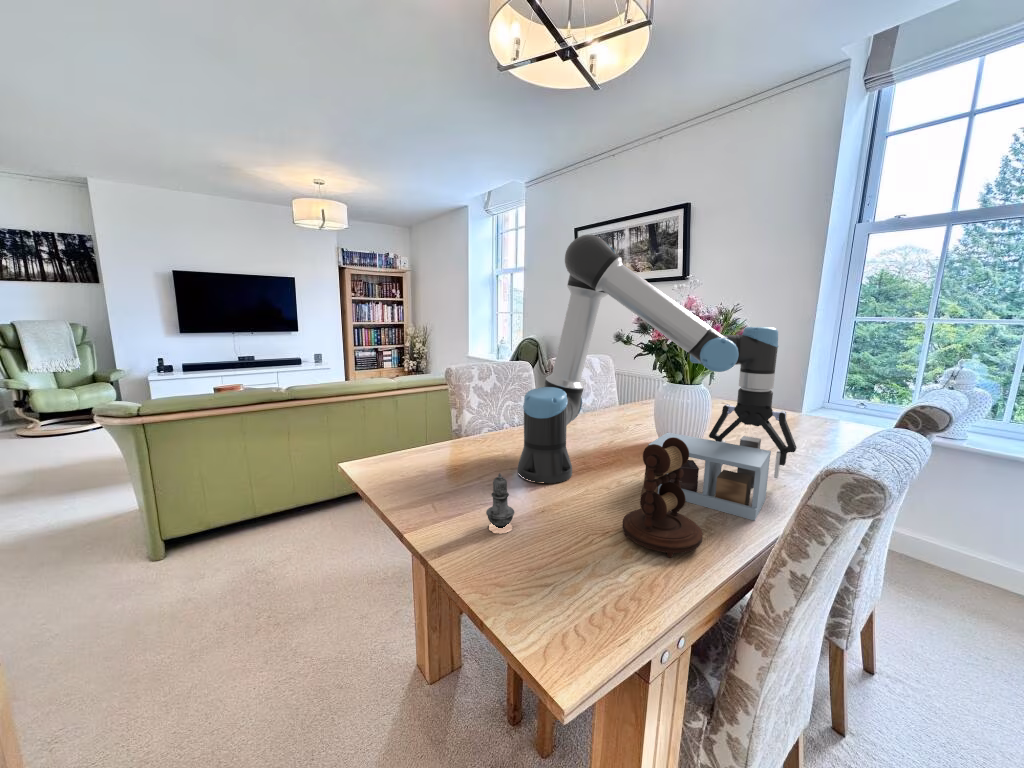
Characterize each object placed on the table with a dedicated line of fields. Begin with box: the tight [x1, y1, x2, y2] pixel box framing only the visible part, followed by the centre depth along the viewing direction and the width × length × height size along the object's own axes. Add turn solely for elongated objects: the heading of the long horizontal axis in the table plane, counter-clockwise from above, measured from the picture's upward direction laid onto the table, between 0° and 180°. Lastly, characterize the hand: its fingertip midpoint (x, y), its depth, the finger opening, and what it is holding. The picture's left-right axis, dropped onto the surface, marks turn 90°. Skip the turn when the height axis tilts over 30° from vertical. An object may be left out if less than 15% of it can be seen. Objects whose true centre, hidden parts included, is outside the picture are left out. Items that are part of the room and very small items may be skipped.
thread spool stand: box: [622, 437, 703, 559], centre depth 79 cm, size 15×15×20 cm
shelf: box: [647, 432, 772, 522], centre depth 99 cm, size 24×14×12 cm, turn 50°
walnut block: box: [714, 435, 762, 506], centre depth 99 cm, size 6×21×12 cm, turn 140°
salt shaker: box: [485, 473, 515, 528], centre depth 84 cm, size 6×6×12 cm
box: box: [668, 459, 700, 493], centre depth 101 cm, size 6×6×7 cm
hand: (747, 470), depth 105 cm, fingers open, 12 cm apart
